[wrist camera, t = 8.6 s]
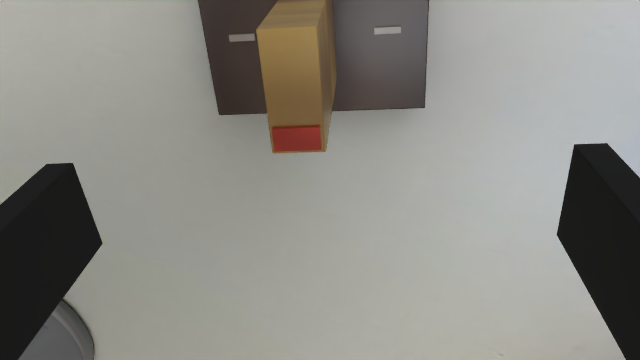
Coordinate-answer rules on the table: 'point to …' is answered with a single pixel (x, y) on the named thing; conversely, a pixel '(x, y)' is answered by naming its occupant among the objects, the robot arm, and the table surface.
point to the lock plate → (350, 49)
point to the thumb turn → (298, 73)
